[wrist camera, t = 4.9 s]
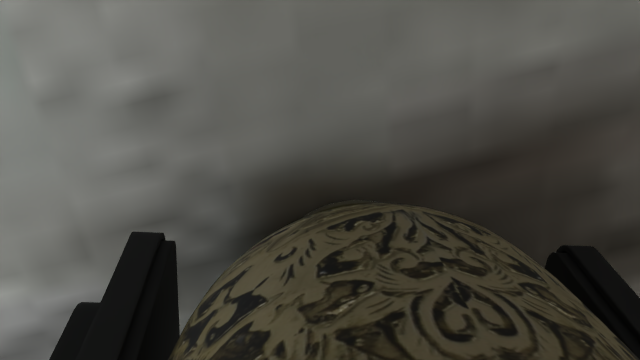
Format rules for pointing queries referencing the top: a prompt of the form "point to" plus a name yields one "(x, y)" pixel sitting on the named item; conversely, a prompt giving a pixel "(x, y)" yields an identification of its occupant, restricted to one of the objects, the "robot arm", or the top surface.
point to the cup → (391, 295)
